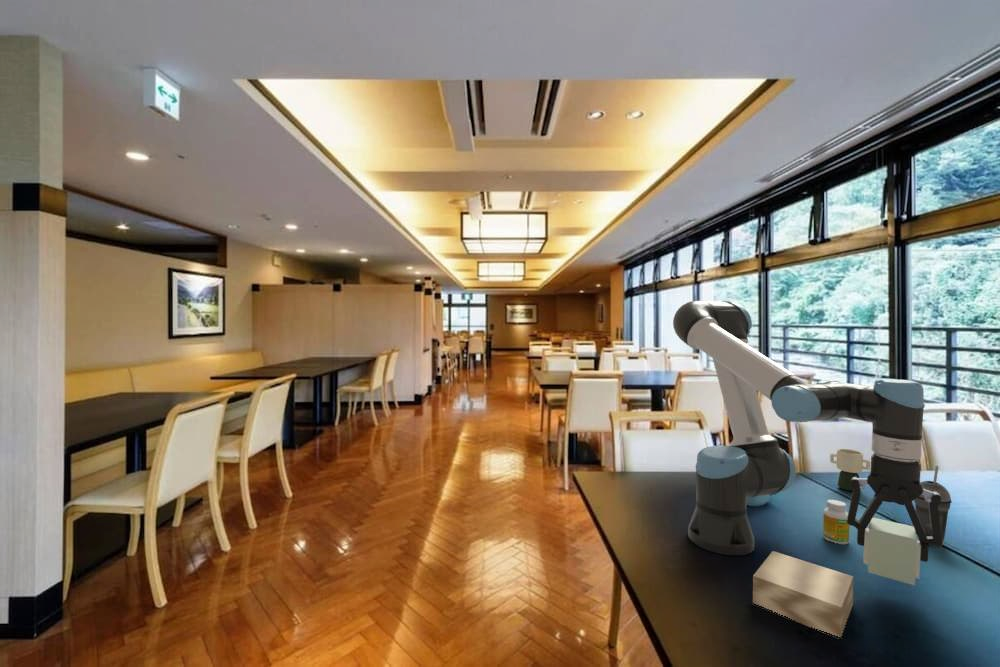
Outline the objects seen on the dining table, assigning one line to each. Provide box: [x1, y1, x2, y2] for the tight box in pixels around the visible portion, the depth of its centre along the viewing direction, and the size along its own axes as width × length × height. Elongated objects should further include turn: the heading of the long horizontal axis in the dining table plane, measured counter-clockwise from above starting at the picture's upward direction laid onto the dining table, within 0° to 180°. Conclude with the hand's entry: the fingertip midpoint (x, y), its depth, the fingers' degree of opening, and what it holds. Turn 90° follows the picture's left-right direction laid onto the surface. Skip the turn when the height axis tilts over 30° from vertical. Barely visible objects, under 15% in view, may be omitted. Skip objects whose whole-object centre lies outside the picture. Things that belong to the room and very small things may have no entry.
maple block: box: [752, 550, 854, 638], centre depth 89 cm, size 14×14×6 cm
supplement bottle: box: [822, 499, 850, 545], centre depth 116 cm, size 5×5×10 cm
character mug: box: [829, 448, 871, 492], centre depth 152 cm, size 11×7×13 cm, turn 39°
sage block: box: [867, 517, 918, 586], centre depth 91 cm, size 7×7×9 cm
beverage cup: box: [913, 465, 952, 548], centre depth 115 cm, size 7×7×20 cm
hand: (890, 567), depth 91 cm, fingers closed on sage block, 7 cm apart
